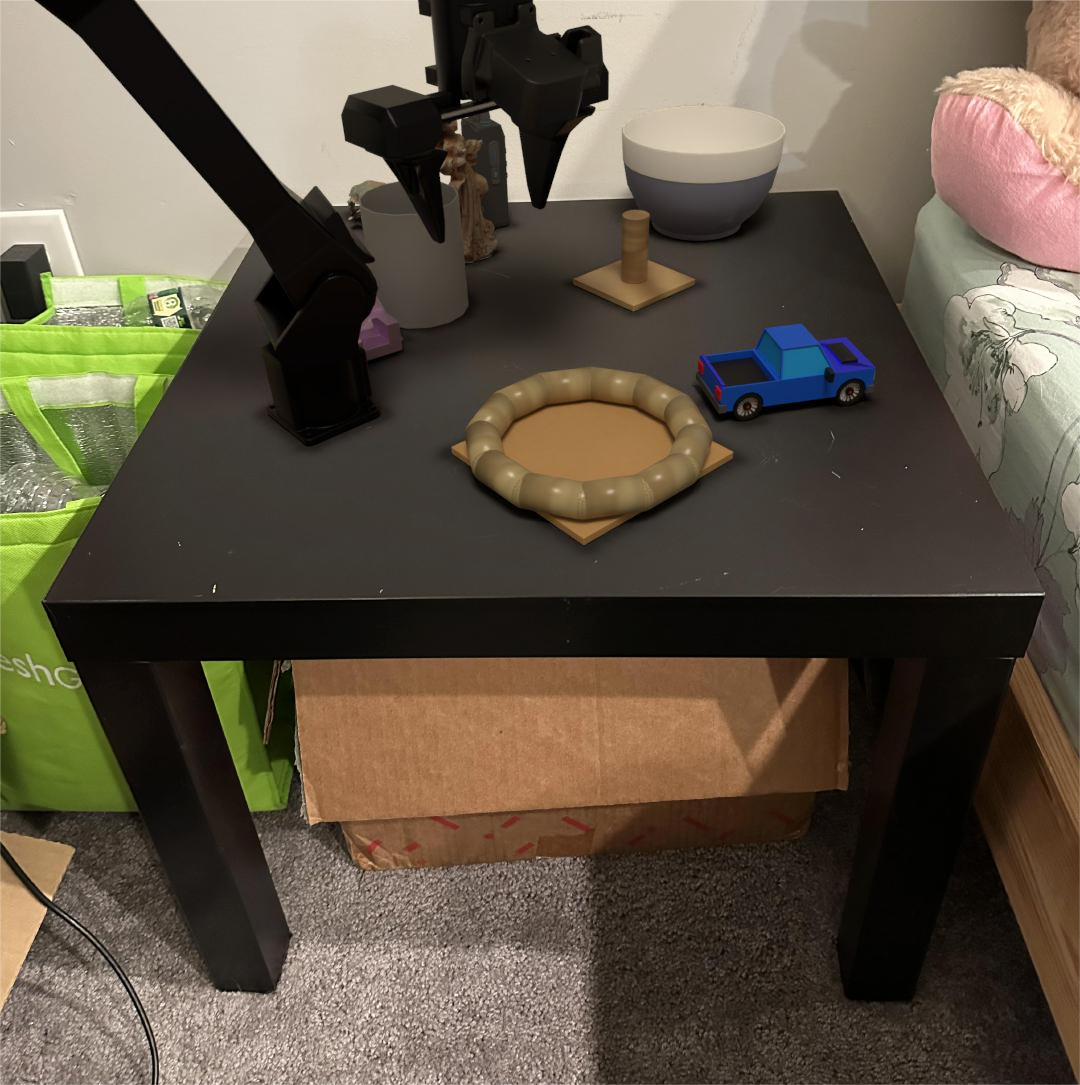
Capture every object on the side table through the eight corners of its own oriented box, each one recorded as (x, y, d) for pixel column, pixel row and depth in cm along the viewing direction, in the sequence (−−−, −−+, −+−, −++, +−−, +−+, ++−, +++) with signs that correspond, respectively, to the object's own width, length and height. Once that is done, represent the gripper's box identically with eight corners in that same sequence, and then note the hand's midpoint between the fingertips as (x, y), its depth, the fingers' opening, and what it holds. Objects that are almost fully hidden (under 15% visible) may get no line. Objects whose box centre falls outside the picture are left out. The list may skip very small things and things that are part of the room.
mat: (583, 546, 59) (583, 538, 59) (451, 453, 68) (450, 446, 67) (733, 459, 66) (733, 451, 66) (595, 384, 75) (595, 378, 74)
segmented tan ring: (578, 560, 57) (578, 529, 56) (421, 448, 67) (417, 419, 66) (758, 454, 65) (762, 424, 64) (593, 368, 75) (593, 340, 74)
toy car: (875, 408, 70) (889, 347, 67) (720, 430, 69) (727, 369, 66) (836, 365, 76) (847, 307, 72) (691, 384, 74) (696, 326, 71)
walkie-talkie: (512, 226, 101) (501, 13, 88) (484, 232, 99) (468, 18, 87) (493, 212, 104) (479, 5, 91) (465, 218, 103) (447, 9, 90)
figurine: (461, 273, 92) (445, 108, 82) (417, 259, 95) (397, 98, 85) (510, 248, 96) (501, 88, 86) (467, 235, 99) (453, 79, 89)
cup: (453, 331, 82) (441, 217, 76) (363, 325, 84) (344, 213, 77) (477, 289, 89) (468, 181, 82) (393, 285, 90) (378, 178, 84)
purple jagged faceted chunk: (415, 350, 80) (407, 283, 76) (341, 374, 77) (328, 306, 73) (374, 316, 85) (364, 251, 81) (302, 337, 82) (289, 272, 79)
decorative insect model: (324, 237, 97) (326, 187, 95) (353, 218, 107) (355, 171, 104) (409, 252, 97) (413, 201, 94) (431, 231, 106) (434, 184, 104)
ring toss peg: (633, 312, 84) (635, 239, 80) (573, 284, 89) (572, 214, 85) (695, 284, 88) (700, 214, 84) (634, 260, 93) (636, 191, 89)
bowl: (738, 266, 91) (748, 163, 85) (592, 237, 97) (592, 139, 91) (796, 211, 101) (809, 116, 95) (660, 188, 108) (665, 98, 102)
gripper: (424, 20, 50) (452, 298, 60) (671, -30, 59) (660, 219, 69) (317, -6, 57) (358, 248, 67) (554, -47, 66) (558, 182, 76)
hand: (490, 224), depth 69 cm, fingers open, 9 cm apart
